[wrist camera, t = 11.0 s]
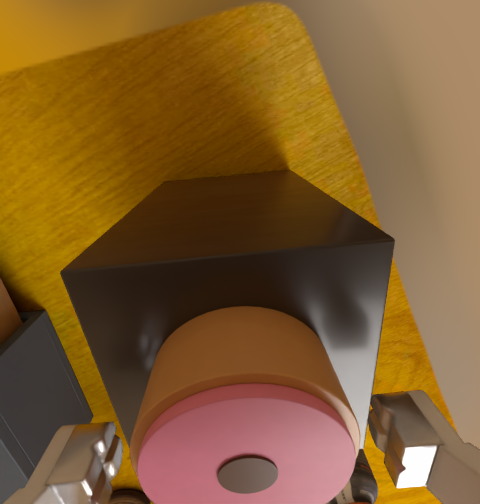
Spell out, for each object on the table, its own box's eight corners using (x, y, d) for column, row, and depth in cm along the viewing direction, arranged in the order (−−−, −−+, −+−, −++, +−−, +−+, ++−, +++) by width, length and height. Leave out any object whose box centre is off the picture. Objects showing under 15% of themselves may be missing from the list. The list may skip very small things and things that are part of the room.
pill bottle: (291, 395, 32) (322, 521, 22) (343, 387, 32) (398, 511, 22) (296, 428, 35) (325, 556, 24) (343, 421, 35) (393, 547, 24)
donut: (133, 315, 9) (89, 405, 6) (332, 296, 9) (383, 376, 6) (171, 442, 12) (153, 547, 9) (325, 427, 12) (358, 526, 9)
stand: (163, 181, 22) (58, 271, 8) (290, 169, 22) (396, 238, 8) (184, 290, 26) (138, 472, 12) (291, 280, 26) (364, 449, 12)
